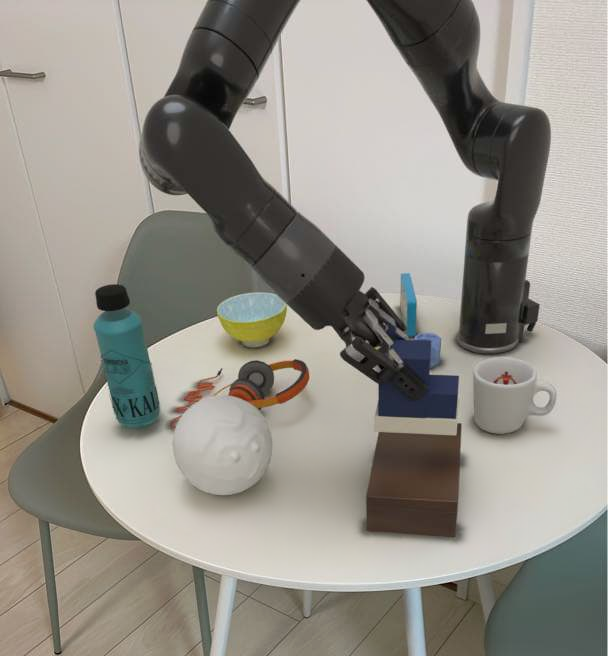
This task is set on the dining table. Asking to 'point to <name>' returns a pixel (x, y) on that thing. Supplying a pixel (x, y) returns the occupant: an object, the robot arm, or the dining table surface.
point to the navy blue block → (429, 410)
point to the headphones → (257, 384)
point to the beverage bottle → (125, 358)
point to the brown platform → (414, 484)
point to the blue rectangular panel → (408, 304)
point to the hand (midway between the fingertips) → (422, 382)
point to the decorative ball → (222, 445)
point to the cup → (507, 394)
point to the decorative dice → (432, 346)
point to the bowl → (252, 317)
